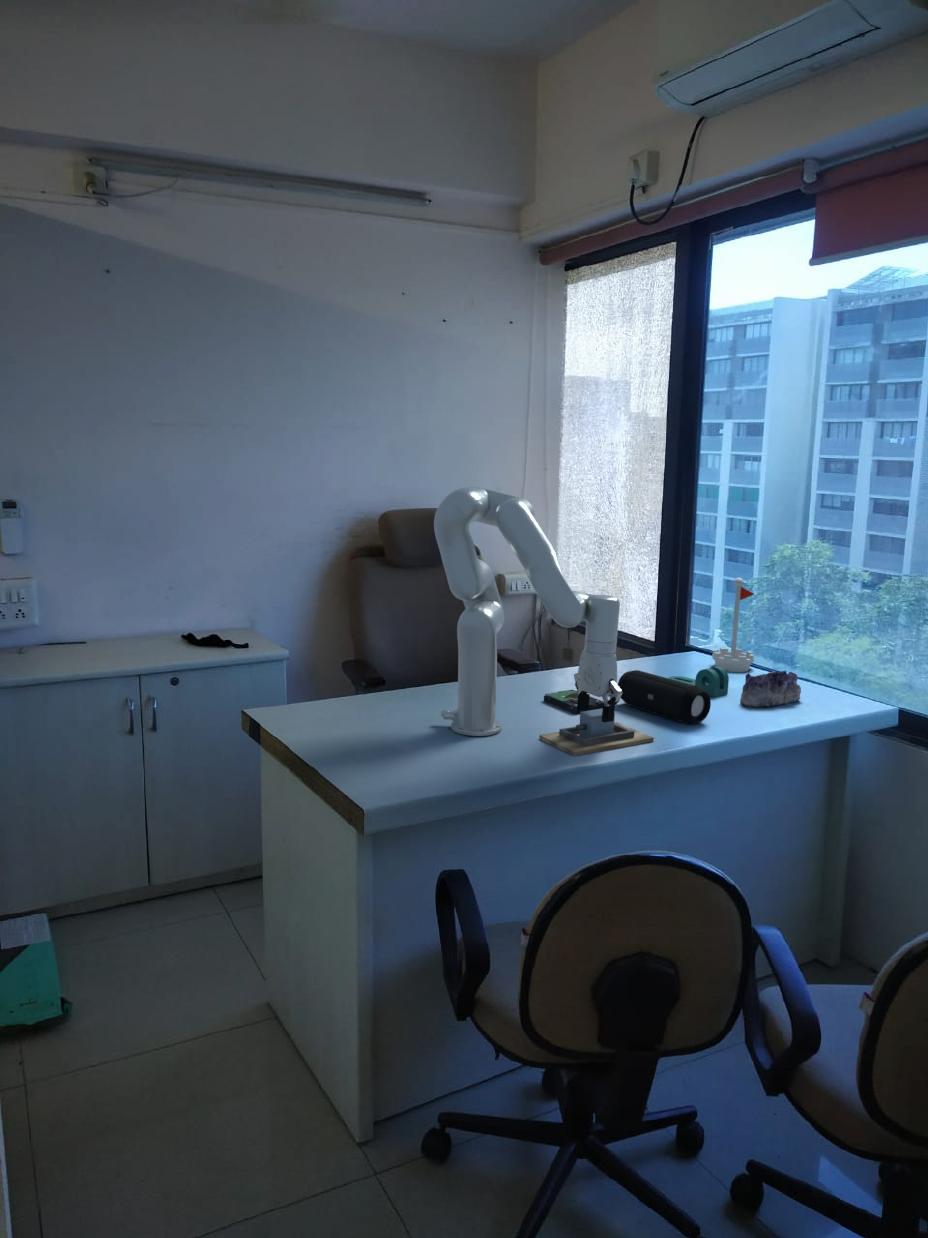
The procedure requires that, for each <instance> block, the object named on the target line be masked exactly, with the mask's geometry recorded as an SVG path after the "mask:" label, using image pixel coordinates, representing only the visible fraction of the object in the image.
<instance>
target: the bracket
mask: <svg viewBox="0 0 928 1238" xmlns="http://www.w3.org/2000/svg"><path fill="white" fill-rule="evenodd" d="M667 678H668V679H672V680H676V681H679V682H683V683H687V684H691V685H694V686H697V687H700V688H701V689H703V690H704V691H705V692H706V693H707V694H708V695H709V697H710V698H713V699H716V698H719V697H722V696H726V695H728V692H729V681H730V679H729V673H728V671H726V670H725V669H724V668H722V667H720V666H716V667H715V666H712V667H709V668H705V669H704V668H703V669H700V670H699V671H698V672H697V673H696V675H695V678H692V677H691V678H690V677H688V676H686V677H685V676H678V675H677V676H676V675H674V676H669V677H667Z"/></svg>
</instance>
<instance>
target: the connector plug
mask: <svg viewBox="0 0 928 1238" xmlns="http://www.w3.org/2000/svg"><path fill="white" fill-rule="evenodd" d="M602 710H603V708H602V709H596V710H590V711H583V712H580V714H579V723H578V724H576V725H575V727H576V730H577V731H579V736H581V737H583V738H590V737H596V736H602V735H608V734H613V733H614V723H615V722H616V721H615V719H616V718H615V717H616V716H615V714H616V713H615V712H614V720H613V721H611V722H602Z"/></svg>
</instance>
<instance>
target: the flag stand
mask: <svg viewBox="0 0 928 1238" xmlns="http://www.w3.org/2000/svg"><path fill="white" fill-rule="evenodd" d="M744 582H745V581H744V580H743V578H741V577H736V578H735V579H734V581H733V583H734V585H735V596H734V609H733V619H732V620H733V623H732V633H731V644H730V645H731V648H730V651H729V648H728V647H723V648H722V647H720V648H719V649H716V648H715V649H713V650H712V657H711V658H712V660H714V667H716V666H720V667H722V668H724V669H725V670H726V671H727V673H728V672H729V673H746V672H745V671H747V672H749V671H750V670H749V669H751V664H752V663H753V662H754V661H755V660H754V659H755V653H754V652H753V651H750V650H746V652H745V653H744V652H743V649H742V648H737V641H738V631H739V630H738V629H739V616H740V614H739V613H740V604H741V601H742V600H744V599H746V598H750V597H751V596H753V595H754V596H755V593H753V592H752V591H750V590H749V589H746V588H745V587H742V586H743V585H744ZM748 670H749V671H748Z"/></svg>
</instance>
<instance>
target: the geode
mask: <svg viewBox="0 0 928 1238" xmlns="http://www.w3.org/2000/svg"><path fill="white" fill-rule="evenodd" d="M798 679H799V677H798V675H797V674H796V673H795V672H792V671H789V672H788V673H787V670H781V671H776V670H773V671H770V672H767V673H762V674H759V675H751V674H750V673H747V674H746V675H745V682H744V684H743V686H742V691H741V695H740V698H739V699H740V700H739V702H740V704H741V705H742V707H745V708H750V709H751V708H753V709H754V708H756V709H765V708H769V707H773V706H779V705H784V704H785V705H787V704H790V703H794V702H796V701H799V700H801V693H802V687H801V686H800V684H798V682H797V681H798Z"/></svg>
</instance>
